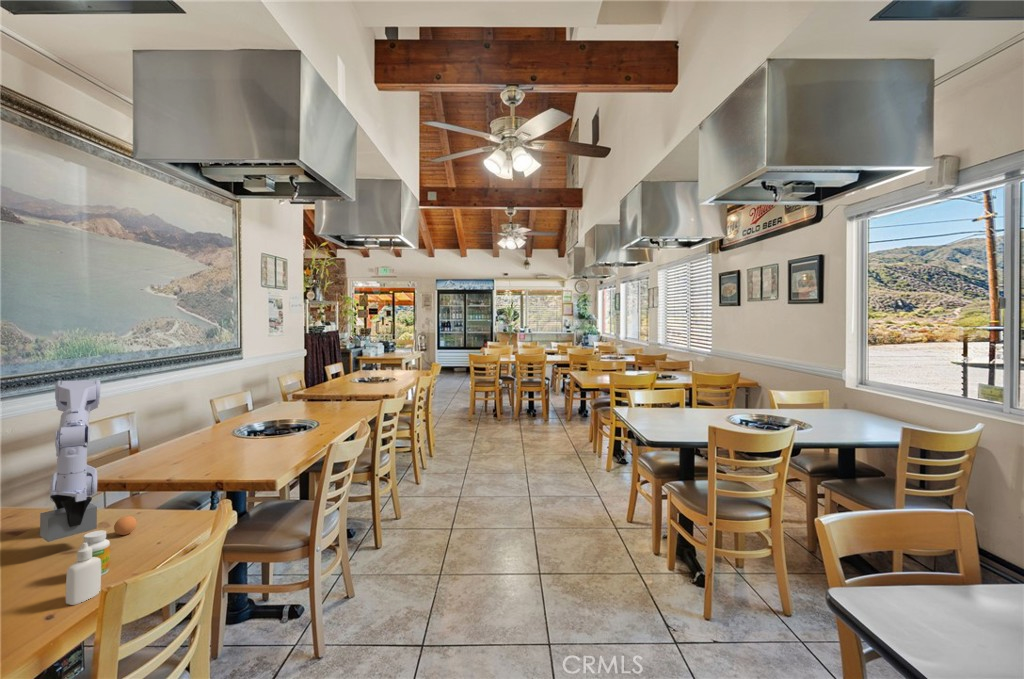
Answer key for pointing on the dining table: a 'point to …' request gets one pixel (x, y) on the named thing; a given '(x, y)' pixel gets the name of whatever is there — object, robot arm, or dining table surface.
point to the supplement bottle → (99, 548)
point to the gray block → (65, 523)
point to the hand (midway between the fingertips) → (70, 522)
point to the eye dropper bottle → (83, 577)
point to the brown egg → (125, 525)
